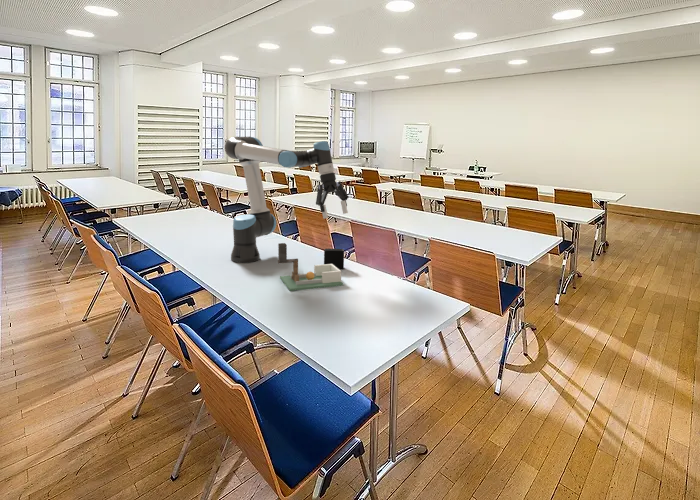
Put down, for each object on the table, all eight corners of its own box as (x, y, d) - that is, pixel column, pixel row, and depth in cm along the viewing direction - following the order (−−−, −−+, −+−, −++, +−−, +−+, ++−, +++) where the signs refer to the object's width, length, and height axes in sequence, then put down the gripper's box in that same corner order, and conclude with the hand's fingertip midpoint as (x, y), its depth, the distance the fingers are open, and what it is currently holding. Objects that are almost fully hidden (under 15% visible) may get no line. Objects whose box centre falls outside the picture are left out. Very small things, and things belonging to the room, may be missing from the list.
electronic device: (323, 267, 228) (324, 248, 225) (343, 267, 229) (343, 248, 226) (324, 269, 224) (324, 250, 221) (343, 269, 225) (344, 250, 222)
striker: (276, 279, 201) (276, 242, 197) (295, 278, 205) (295, 241, 200) (279, 284, 196) (279, 246, 191) (299, 282, 199) (299, 244, 195)
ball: (304, 279, 205) (304, 270, 204) (312, 278, 207) (313, 270, 206) (307, 281, 202) (307, 273, 201) (315, 280, 203) (315, 272, 202)
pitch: (280, 278, 208) (280, 266, 206) (329, 273, 217) (330, 262, 216) (289, 291, 192) (289, 277, 190) (343, 285, 201) (343, 273, 200)
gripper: (312, 175, 205) (322, 219, 208) (350, 169, 222) (358, 210, 225) (302, 177, 211) (312, 221, 213) (340, 172, 227) (348, 212, 230)
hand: (335, 215), depth 219 cm, fingers open, 13 cm apart
